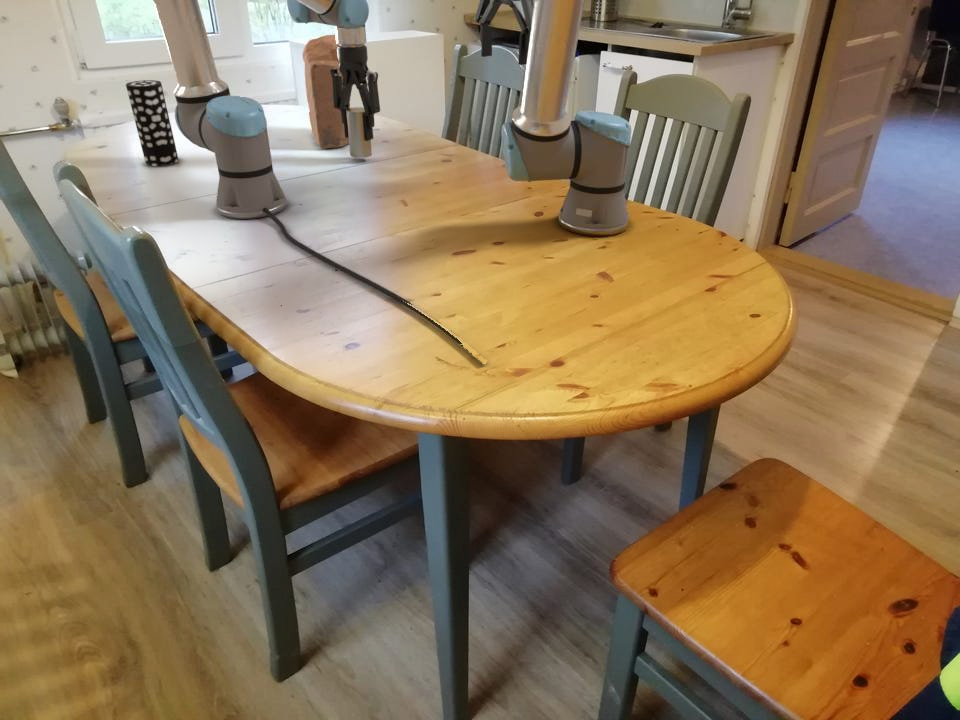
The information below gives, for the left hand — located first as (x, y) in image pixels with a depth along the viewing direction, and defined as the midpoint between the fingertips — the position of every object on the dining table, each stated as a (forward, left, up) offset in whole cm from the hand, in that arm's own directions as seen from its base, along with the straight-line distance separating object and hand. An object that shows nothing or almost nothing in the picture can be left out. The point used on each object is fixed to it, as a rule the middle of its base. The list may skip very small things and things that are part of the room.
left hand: (359, 137), depth 186 cm
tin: (0, 0, -5) cm, 5 cm away
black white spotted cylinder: (+23, +48, +4) cm, 54 cm away
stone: (+24, 0, -6) cm, 25 cm away
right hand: (-29, -28, +22) cm, 46 cm away
